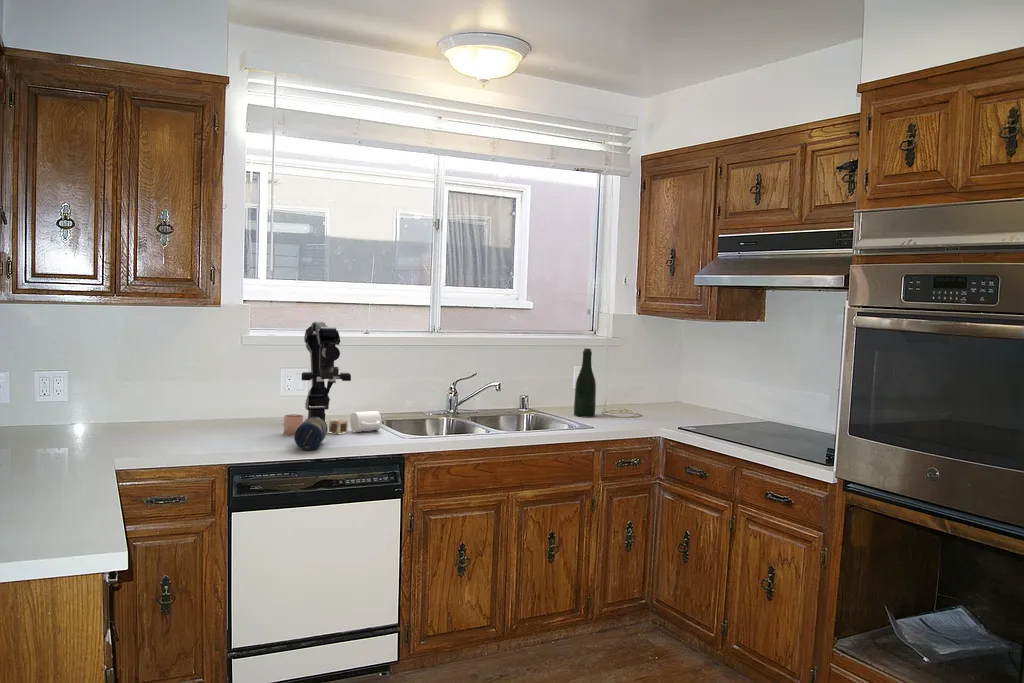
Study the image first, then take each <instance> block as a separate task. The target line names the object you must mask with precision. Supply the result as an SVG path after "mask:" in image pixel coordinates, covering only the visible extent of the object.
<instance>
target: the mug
mask: <svg viewBox="0 0 1024 683" xmlns="http://www.w3.org/2000/svg"><path fill="white" fill-rule="evenodd" d="M349 424H350V429H351V431H352V430H353V431H355V432H354V433H362V432H361V431H368V432H372V431H371V430H378V431H380V429H381V428H382V427H381V426H382V417H381V413H380V412H379V411H377V410H372V411H371V410H369V411H354V412H352V413H351V414H350V419H349ZM353 431H352V432H353Z"/></svg>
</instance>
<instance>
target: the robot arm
mask: <svg viewBox="0 0 1024 683" xmlns="http://www.w3.org/2000/svg"><path fill="white" fill-rule="evenodd" d="M303 336H304V338H303V341H304V343H305V348H306V350H307V351H308V352H309V354H310V355H309V356H310V357H309V358H310V371H303V372H302V373H301V381H311V387H310V389H309V391H308V392H307V396H306V400H305V405H304V406H305V409H306V411H307V412H308V413H307V414H308V416H307V419H308V418H310V417H319V418H321V419H323V420H324V421H325V423H327V424H328V422H327V421H326V411H327V410H329V408H330V407H329V406H330V400H331V399H330V396H329V394H330V390H331V388H332V386H333V384H336V383H337V381H336V380H341V381H343V382H351V380H352V374H351V373H350V372H340V373H339V371H340V368H339V366H335V361H337V360H339V358H340V356H341V351H340V349H339V348H338V347H337V346H340V343H341V337H340V333H339V330H338V329H337V328H336V327H335V326H334V327H333V326H328V325H326V323H325V322H324V321H313V322H312V323H311V324H310V326H309V327H308V328H307V329H306V330H305V333H304V335H303ZM336 345H337V346H336ZM325 380H327V383H326V384H327V385H326V384H325Z"/></svg>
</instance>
